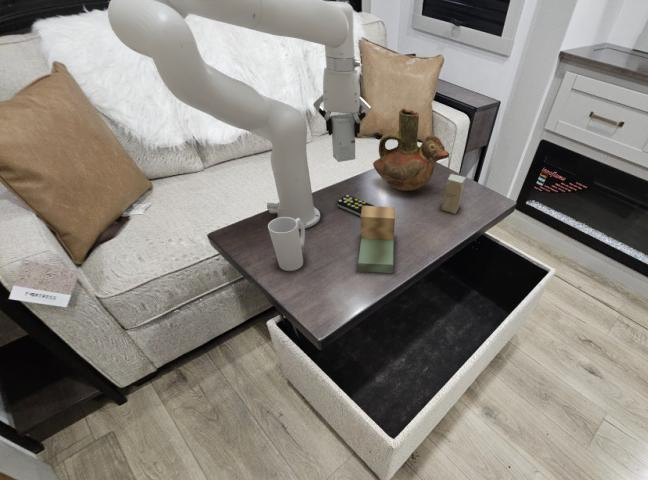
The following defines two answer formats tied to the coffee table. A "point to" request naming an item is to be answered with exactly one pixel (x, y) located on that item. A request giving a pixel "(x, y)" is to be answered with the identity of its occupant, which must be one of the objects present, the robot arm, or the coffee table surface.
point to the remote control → (352, 204)
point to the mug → (287, 242)
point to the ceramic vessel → (408, 155)
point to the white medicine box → (343, 137)
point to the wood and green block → (377, 239)
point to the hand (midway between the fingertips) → (343, 134)
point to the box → (453, 193)
